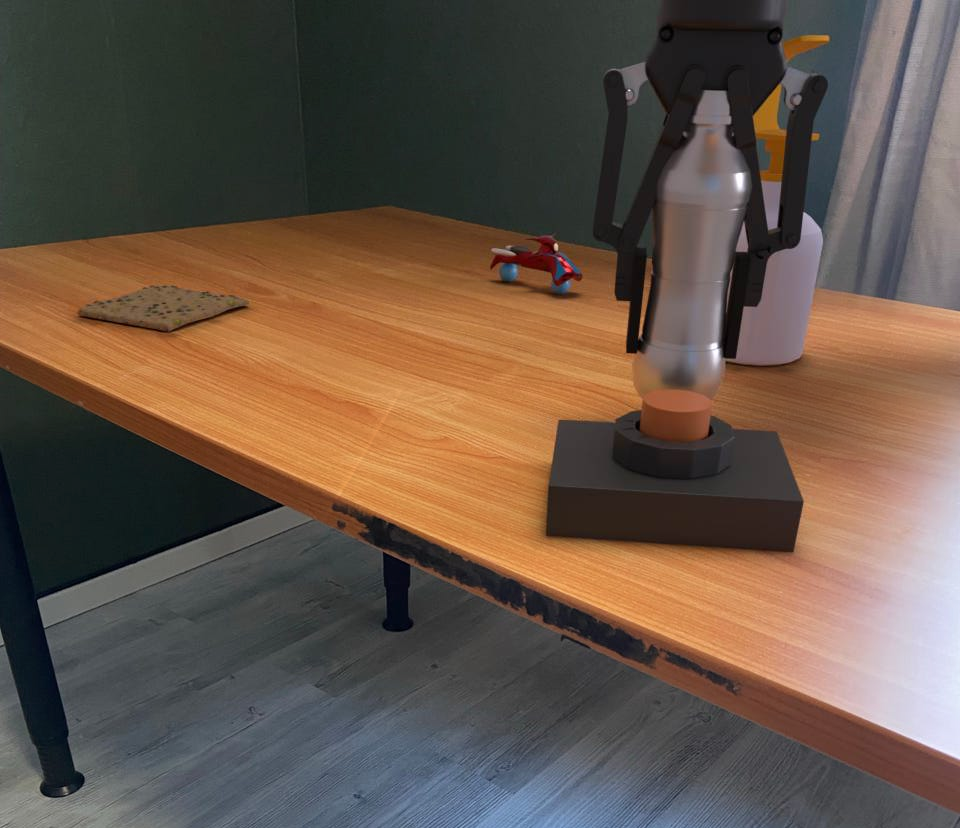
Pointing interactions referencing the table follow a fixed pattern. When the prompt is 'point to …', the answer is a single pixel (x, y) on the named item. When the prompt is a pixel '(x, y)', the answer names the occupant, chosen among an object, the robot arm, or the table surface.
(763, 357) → the soap bottle
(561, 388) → the table surface
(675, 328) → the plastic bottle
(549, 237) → the hoverbike
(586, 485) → the button base
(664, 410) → the button
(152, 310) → the tan flat square slab
